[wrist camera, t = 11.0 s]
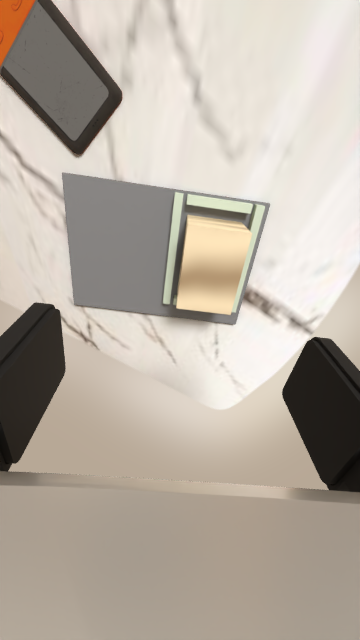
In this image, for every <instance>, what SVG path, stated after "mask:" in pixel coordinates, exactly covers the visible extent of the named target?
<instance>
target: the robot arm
mask: <svg viewBox="0 0 360 640" xmlns="http://www.w3.org/2000/svg"><path fill="white" fill-rule="evenodd" d="M64 373H65V357H64V347H63V337H62V326H61V316H60V311H59V310H58V309H55V307H54V305H52V304H44V303H34V304H33V305H32V306H31V307H30V308H29V309H28V310H27V311H26V312H25V313H24V314H23V315H22V316H21V317H20V318H19V319H18V320H17V321H16V322H15V323H14V324H13V325H11V327H10V328H9V329H7V331H5V332H4V333H3V335H1V336H0V640H360V371H359V370H358V369H357V368H356V366H355V365H354V364H353V363H352V362H351V361H350V360H349V359H348V357H347V356H346V355H345V354H344V353H343V352H342V351H341V350H340V348H339V347H338V346H337V345H336V344H335V343H334V342H333V341H332V340H331V339H328V338H320V337H314V338H312V339H311V340H309V341H307V343H306V344H305V346H304V348H303V350H302V353H301V354H300V356H299V358H298V360H297V362H296V364H295V366H294V368H293V370H292V372H291V374H290V376H289V378H288V380H287V382H286V384H285V386H284V388H283V392H282V395H283V399H284V401H285V403H286V405H287V407H288V409H289V412H290V414H291V416H292V418H293V420H294V422H295V425H296V427H297V429H298V431H299V433H300V435H301V438H302V440H303V442H304V444H305V446H306V448H307V450H308V452H309V455H310V457H311V459H312V461H313V463H314V466H315V468H316V470H317V472H318V474H319V476H320V478H321V480H322V481H323V482H324V483H325V484H326V485H327V487H328V489H329V490H318V489H317V490H316V489H303V488H289V487H273V486H257V485H242V484H227V483H211V482H194V481H179V480H163V479H145V478H128V477H110V476H94V475H77V474H56V473H55V474H54V473H31V472H8V470H9V468H10V466H11V465H12V463H17V462H18V461H19V460H20V458H21V456H22V455H23V453H24V451H25V449H26V447H27V445H28V443H29V441H30V439H31V437H32V436H33V433H34V431H35V430H36V428H37V426H38V424H39V422H40V420H41V418H42V416H43V414H44V412H45V411H46V409H47V407H48V405H49V403H50V401H51V399H52V397H53V395H54V393H55V392H56V390H57V387H58V386H59V384H60V382H61V380H62V378H63V376H64Z"/></svg>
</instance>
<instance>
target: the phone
mask: <svg viewBox="0 0 360 640" xmlns="http://www.w3.org/2000/svg"><path fill="white" fill-rule="evenodd" d="M0 74H1V75H2V76H3V78H4V79H5V80H6V81H7V82H8V83H9V84H10V85H11V86H12V87H13V88H14V89H15V90H16V91H17V92H18V94H19V95H20V96H21V97H22V98H23V99H24V100H25V101H26V102H27V103H28V104H29V105H30V106H31V107H32V108H33V110H34V111H35V112H36V113H37V114H38V115H39V116H40V117H41V118H42V119H43V120H44V121H45V122H46V123H47V124H48V126H49V127H50V128H51V129H52V130H53V131H54V132H55V133H56V134H57V135H58V136H59V137H60V138H61V139H62V141H63V142H64V143H65V144H66V145H67V146H68V147H69V148H70V149H71V150H72V151H73V152H74V153H76V154H81V153H83V152H84V150H85V149H86V148H87V146H88V145H89V144H90V142H91V141H92V140H93V138H94V137H95V136H96V134H97V133H98V132H99V130H100V129H101V128H102V126H103V125H104V124H105V122H106V121H107V120H108V118H109V117H110V116H111V114H112V113H113V112H114V110H115V109H116V108H117V106H118V105H119V104H120V102H121V101H122V92H121V89H120V88H119V87H118V85H117V84H116V83H115V82H114V80H113V79H112V78H111V76H110V75H109V74H108V73H107V71H106V70H105V69H104V67H103V66H102V65H101V64H100V62H99V61H98V60H97V58H96V57H95V56H94V55H93V53H92V52H91V51H90V49H89V48H88V47H87V46H86V44H85V43H84V42H83V40H82V39H81V38H80V37H79V35H78V34H77V33H76V31H75V30H74V29H73V28H72V26H71V25H70V24H69V22H68V21H67V20H66V19H65V17H64V16H63V15H62V13H61V12H60V11H59V10H58V8H57V7H56V6H55V5H54V3H53V2H52V1H51V0H0Z"/></svg>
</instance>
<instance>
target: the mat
mask: <svg viewBox="0 0 360 640" xmlns="http://www.w3.org/2000/svg"><path fill="white" fill-rule="evenodd" d="M62 179H63V190H64V200H65V211H66V222H67V233H68V244H69V255H70V265H71V276H72V287H73V298H74V305H82V306H90V307H99V308H107V309H115V310H123V311H131V312H139V313H147V314H155V315H163V316H171V317H179V318H187V319H195V320H203V321H211V322H219V323H227V324H236V321H237V317H238V314H239V310H240V307H241V304H242V300H243V297H244V293H245V290H246V286H247V283H248V279H249V276H250V272H251V269H252V266H253V262H254V259H255V255H256V252H257V248H258V245H259V241H260V238H261V234H262V231H263V228H264V224H265V221H266V217H267V214H268V210H269V207H270V204H269V203H263V202H256V201H250V200H243V199H236V198H230V197H223V196H216V195H210V194H203V193H196V192H190V191H183V190H176V189H170V188H163V187H156V186H150V185H143V184H136V183H130V182H123V181H116V180H110V179H103V178H96V177H90V176H83V175H76V174H70V173H62ZM187 215H193V216H200V217H207V218H215V219H222V220H229V221H236V222H242V223H243V224H244V225H245V227H246V228H247V229H248V230H249V231H250V232H251V233H252V237H251V240H250V244H249V248H248V252H247V255H246V259H245V263H244V267H243V270H242V274H241V278H240V282H239V285H238V289H237V293H236V297H235V300H234V304H233V308H232V312H231V315H227V314H219V313H210V312H202V311H194V310H186V309H178V308H176V305H177V290H178V281H179V274H180V266H181V259H182V252H183V244H184V237H185V229H186V222H187Z"/></svg>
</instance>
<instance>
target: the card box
mask: <svg viewBox="0 0 360 640" xmlns="http://www.w3.org/2000/svg"><path fill="white" fill-rule="evenodd" d="M251 237H252V233H251V232H250V231H249V230H248V229H247V228H246V227H245V225H244V224H243V223H242V222H236V221H229V220H222V219H215V218H207V217H200V216H193V215H187V222H186V229H185V237H184V244H183V252H182V259H181V266H180V274H179V281H178V290H177V305H176V308H178V309H186V310H194V311H202V312H210V313H219V314H227V315H231V312H232V308H233V304H234V300H235V297H236V293H237V289H238V285H239V282H240V278H241V274H242V270H243V267H244V263H245V259H246V255H247V252H248V248H249V244H250V240H251Z"/></svg>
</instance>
